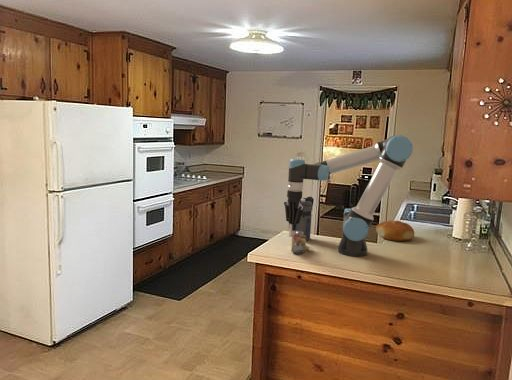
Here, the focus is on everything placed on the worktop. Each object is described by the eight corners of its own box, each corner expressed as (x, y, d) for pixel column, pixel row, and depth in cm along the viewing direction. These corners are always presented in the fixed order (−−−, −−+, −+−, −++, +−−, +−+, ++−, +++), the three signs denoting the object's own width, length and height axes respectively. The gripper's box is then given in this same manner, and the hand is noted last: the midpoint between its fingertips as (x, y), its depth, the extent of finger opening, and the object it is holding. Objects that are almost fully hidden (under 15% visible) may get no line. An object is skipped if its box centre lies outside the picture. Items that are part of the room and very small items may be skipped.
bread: (368, 237, 253) (369, 220, 251) (384, 231, 271) (385, 216, 269) (405, 244, 238) (406, 227, 237) (419, 238, 256) (421, 222, 255)
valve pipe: (292, 245, 228) (293, 231, 227) (305, 246, 227) (306, 232, 226) (290, 255, 210) (291, 239, 209) (304, 256, 209) (305, 240, 208)
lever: (296, 234, 220) (296, 230, 219) (303, 234, 219) (303, 231, 219) (292, 240, 206) (292, 236, 206) (300, 241, 205) (300, 237, 205)
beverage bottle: (316, 239, 241) (319, 196, 238) (300, 242, 233) (303, 198, 229) (303, 235, 249) (306, 194, 245) (287, 238, 240) (290, 195, 237)
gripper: (280, 188, 209) (277, 234, 213) (298, 192, 199) (294, 240, 202) (292, 187, 214) (288, 232, 217) (309, 191, 203) (305, 238, 207)
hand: (291, 236), depth 210 cm, fingers closed
